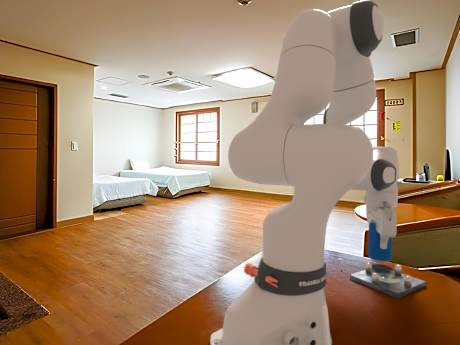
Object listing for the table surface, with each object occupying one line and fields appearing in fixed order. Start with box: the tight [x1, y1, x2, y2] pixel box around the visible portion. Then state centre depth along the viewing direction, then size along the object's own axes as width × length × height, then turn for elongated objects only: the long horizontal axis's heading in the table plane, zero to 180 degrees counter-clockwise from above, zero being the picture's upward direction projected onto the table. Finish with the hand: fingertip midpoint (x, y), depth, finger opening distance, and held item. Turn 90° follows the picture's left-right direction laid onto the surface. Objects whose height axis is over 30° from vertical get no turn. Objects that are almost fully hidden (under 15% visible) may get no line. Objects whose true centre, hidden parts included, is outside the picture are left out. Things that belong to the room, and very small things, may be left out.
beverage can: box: [367, 220, 393, 264], centre depth 91 cm, size 6×6×12 cm
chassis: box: [349, 261, 427, 299], centre depth 79 cm, size 13×13×4 cm
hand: (379, 244), depth 91 cm, fingers closed on beverage can, 6 cm apart
